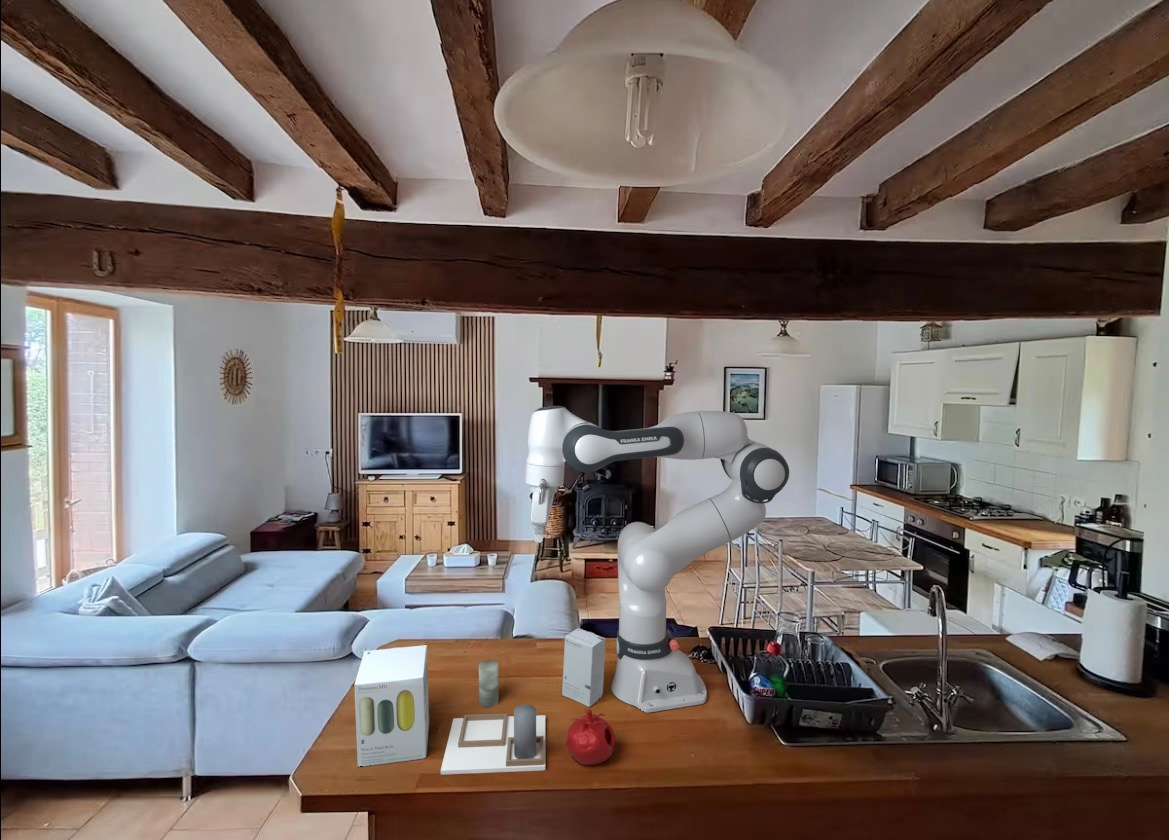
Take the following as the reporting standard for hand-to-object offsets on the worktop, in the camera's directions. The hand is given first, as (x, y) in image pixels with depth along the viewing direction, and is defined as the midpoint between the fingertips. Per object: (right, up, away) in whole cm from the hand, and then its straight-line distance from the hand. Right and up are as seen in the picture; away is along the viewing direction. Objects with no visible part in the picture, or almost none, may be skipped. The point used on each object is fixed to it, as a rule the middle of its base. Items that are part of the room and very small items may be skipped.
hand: (540, 536), depth 134 cm
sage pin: (-12, -39, +1) cm, 40 cm away
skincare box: (+10, -39, +4) cm, 40 cm away
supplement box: (-29, -40, -13) cm, 51 cm away
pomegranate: (+11, -41, -16) cm, 45 cm away
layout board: (-8, -40, -13) cm, 43 cm away
